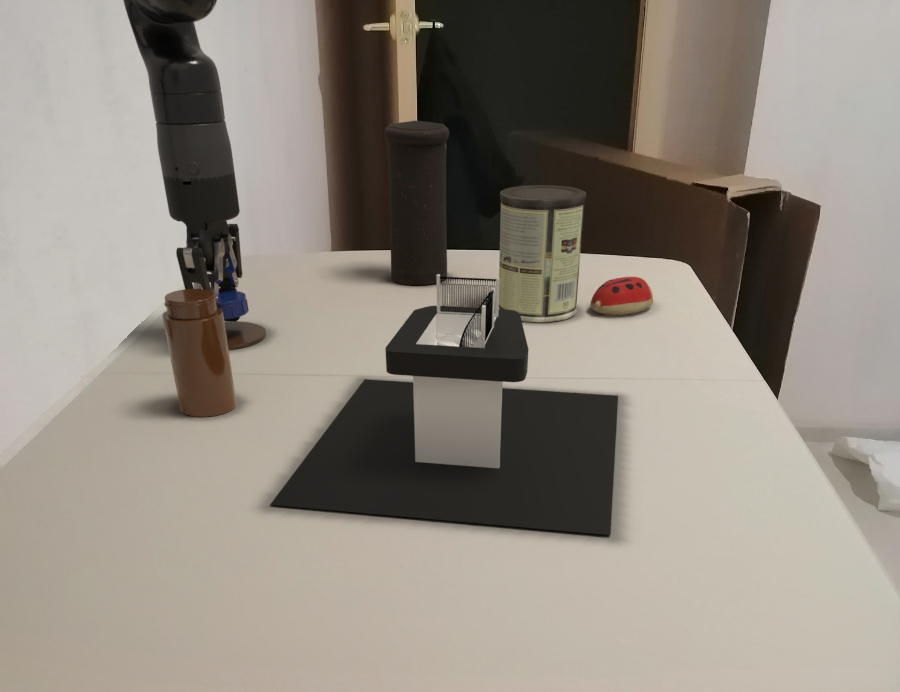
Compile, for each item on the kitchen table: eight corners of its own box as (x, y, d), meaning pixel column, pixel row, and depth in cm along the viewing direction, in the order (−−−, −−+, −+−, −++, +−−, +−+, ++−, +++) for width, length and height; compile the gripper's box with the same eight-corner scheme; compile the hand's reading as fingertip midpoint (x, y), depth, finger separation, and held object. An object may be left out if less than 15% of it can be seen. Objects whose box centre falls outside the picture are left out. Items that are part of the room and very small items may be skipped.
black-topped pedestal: (610, 536, 62) (632, 357, 54) (270, 506, 66) (246, 334, 58) (618, 396, 84) (634, 256, 77) (364, 380, 88) (356, 245, 81)
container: (455, 272, 125) (456, 118, 114) (441, 288, 118) (440, 125, 107) (399, 269, 127) (394, 116, 116) (382, 284, 120) (375, 123, 108)
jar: (173, 416, 80) (150, 303, 74) (188, 395, 85) (168, 287, 79) (229, 417, 80) (211, 303, 74) (242, 396, 85) (226, 287, 79)
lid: (254, 307, 101) (252, 290, 100) (238, 320, 96) (235, 303, 95) (209, 307, 101) (206, 290, 100) (190, 320, 97) (187, 303, 96)
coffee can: (513, 296, 115) (518, 182, 107) (586, 305, 111) (597, 188, 103) (484, 316, 107) (486, 195, 99) (561, 327, 103) (570, 201, 95)
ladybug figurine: (664, 307, 111) (668, 278, 109) (618, 322, 105) (621, 293, 103) (622, 296, 115) (625, 269, 113) (576, 311, 109) (578, 282, 107)
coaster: (167, 349, 97) (167, 346, 96) (196, 323, 105) (196, 320, 105) (253, 352, 96) (252, 348, 96) (275, 325, 104) (275, 322, 104)
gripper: (188, 159, 96) (212, 310, 106) (137, 179, 85) (169, 347, 94) (252, 160, 96) (270, 311, 105) (209, 181, 84) (234, 349, 94)
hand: (222, 327), depth 100 cm, fingers closed on lid, 5 cm apart
